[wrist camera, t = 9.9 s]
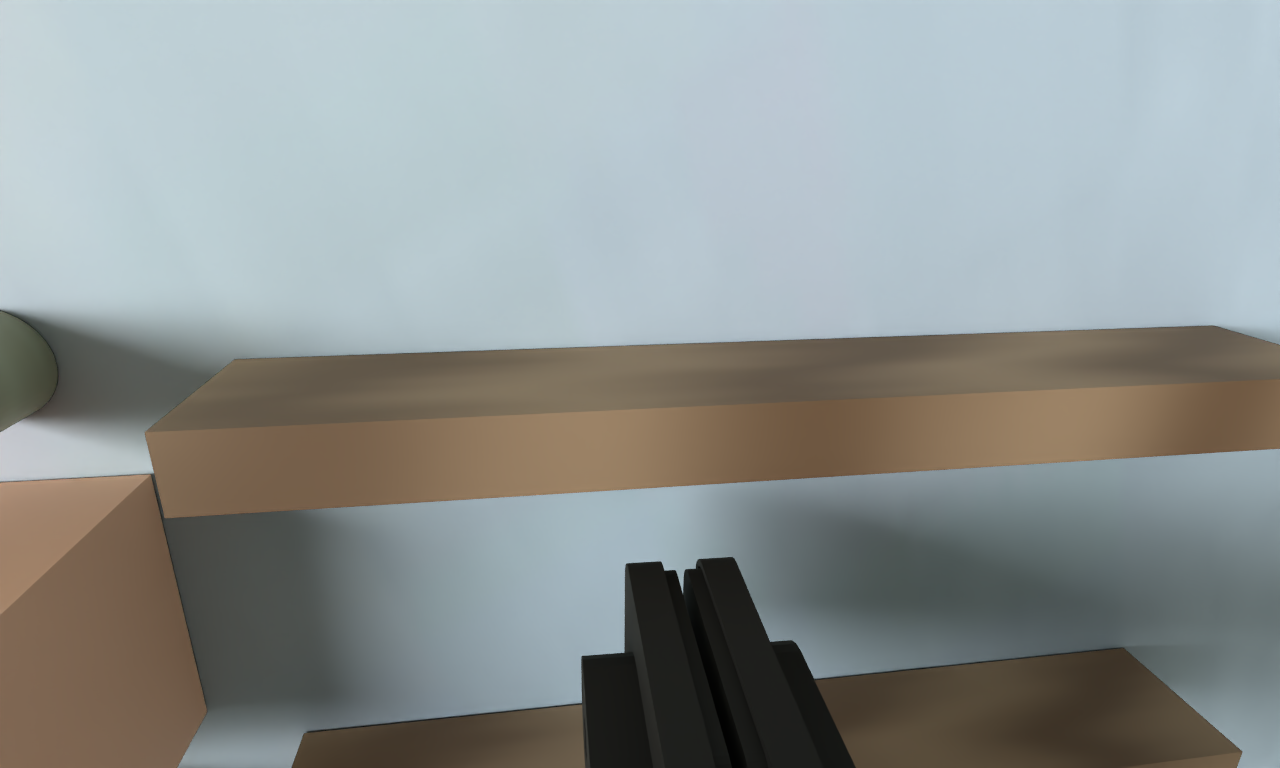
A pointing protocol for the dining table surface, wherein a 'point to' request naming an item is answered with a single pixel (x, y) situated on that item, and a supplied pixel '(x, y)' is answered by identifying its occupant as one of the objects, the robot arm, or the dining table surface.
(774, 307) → the dining table surface
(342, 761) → the chute
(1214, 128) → the dining table surface
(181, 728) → the block
